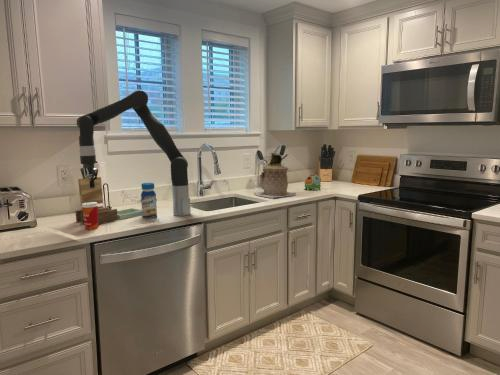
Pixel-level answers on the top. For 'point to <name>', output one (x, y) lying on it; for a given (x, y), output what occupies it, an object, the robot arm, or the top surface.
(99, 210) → the offcut
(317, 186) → the turtle holder
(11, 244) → the top surface
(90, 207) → the paper cup
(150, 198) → the beverage bottle
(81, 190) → the wood grain block
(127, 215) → the tray
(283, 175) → the utensil crock
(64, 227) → the top surface
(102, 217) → the rack
